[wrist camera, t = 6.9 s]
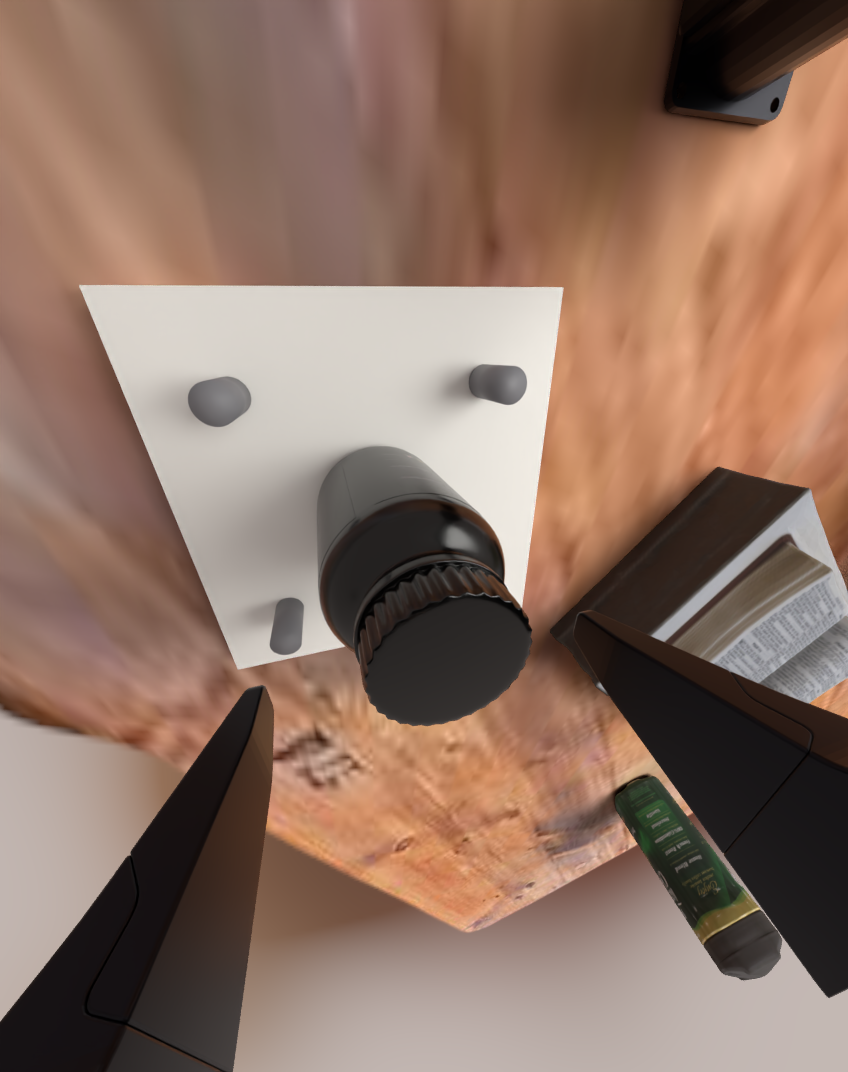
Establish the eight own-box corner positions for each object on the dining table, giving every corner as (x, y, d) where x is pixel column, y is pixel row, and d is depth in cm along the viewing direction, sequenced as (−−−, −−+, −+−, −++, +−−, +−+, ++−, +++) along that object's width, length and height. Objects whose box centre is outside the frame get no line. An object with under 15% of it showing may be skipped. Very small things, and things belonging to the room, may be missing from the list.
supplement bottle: (402, 570, 22) (476, 762, 12) (296, 531, 19) (268, 742, 9) (460, 477, 20) (611, 606, 10) (352, 416, 17) (404, 510, 7)
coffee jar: (607, 792, 51) (737, 989, 35) (653, 766, 51) (804, 951, 35) (614, 814, 56) (731, 996, 40) (656, 790, 56) (789, 962, 40)
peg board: (546, 292, 18) (607, 274, 14) (512, 596, 27) (543, 635, 24) (101, 291, 14) (16, 266, 10) (242, 652, 23) (226, 711, 19)
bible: (622, 721, 43) (697, 810, 34) (527, 609, 29) (611, 712, 21) (786, 605, 40) (909, 671, 32) (765, 424, 27) (970, 455, 18)
